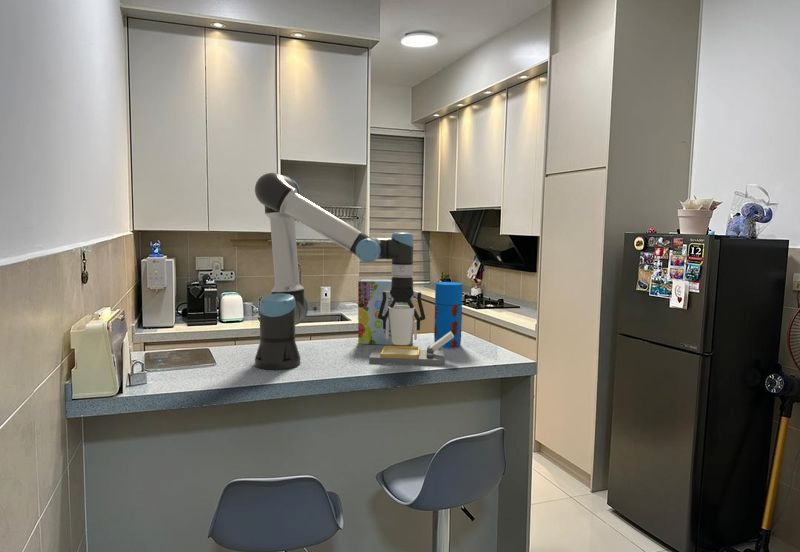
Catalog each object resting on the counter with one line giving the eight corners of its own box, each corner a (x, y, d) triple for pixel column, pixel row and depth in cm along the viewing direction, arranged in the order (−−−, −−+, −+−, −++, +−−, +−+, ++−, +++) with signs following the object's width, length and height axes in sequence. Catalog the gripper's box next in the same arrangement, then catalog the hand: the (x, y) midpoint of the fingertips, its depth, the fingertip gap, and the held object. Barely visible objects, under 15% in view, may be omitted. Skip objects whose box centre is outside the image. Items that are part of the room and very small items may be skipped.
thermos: (430, 342, 221) (431, 282, 218) (454, 341, 224) (456, 281, 221) (439, 348, 210) (441, 285, 208) (465, 347, 213) (467, 284, 211)
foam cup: (411, 346, 187) (412, 309, 186) (385, 345, 189) (385, 308, 188) (416, 341, 196) (416, 305, 195) (391, 339, 198) (391, 304, 197)
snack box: (413, 342, 222) (414, 279, 219) (410, 346, 213) (412, 282, 210) (361, 339, 225) (362, 278, 222) (357, 344, 216) (357, 280, 214)
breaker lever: (425, 351, 190) (450, 332, 189) (425, 348, 195) (450, 330, 194) (429, 356, 190) (454, 338, 189) (429, 353, 195) (454, 335, 194)
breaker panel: (369, 362, 187) (369, 353, 187) (374, 353, 201) (374, 344, 201) (444, 365, 185) (444, 356, 185) (443, 355, 199) (444, 347, 199)
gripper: (369, 276, 188) (369, 340, 190) (433, 278, 186) (432, 341, 188) (372, 274, 195) (371, 335, 197) (433, 276, 193) (432, 337, 196)
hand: (401, 338), depth 193 cm, fingers closed on foam cup, 9 cm apart
